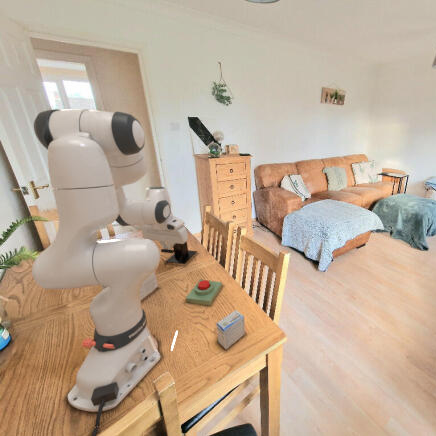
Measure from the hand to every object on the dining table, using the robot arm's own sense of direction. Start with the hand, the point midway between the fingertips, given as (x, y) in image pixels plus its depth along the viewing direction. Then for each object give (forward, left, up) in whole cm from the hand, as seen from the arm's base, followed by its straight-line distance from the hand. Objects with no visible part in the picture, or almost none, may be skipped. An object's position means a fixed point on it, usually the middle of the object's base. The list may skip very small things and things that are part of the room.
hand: (167, 249), depth 110 cm
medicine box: (-33, -43, -11) cm, 55 cm away
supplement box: (-20, +4, -11) cm, 23 cm away
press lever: (+5, 0, -1) cm, 5 cm away
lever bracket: (+9, 0, -11) cm, 14 cm away
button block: (-14, -24, -11) cm, 30 cm away
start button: (-13, -24, -7) cm, 29 cm away
